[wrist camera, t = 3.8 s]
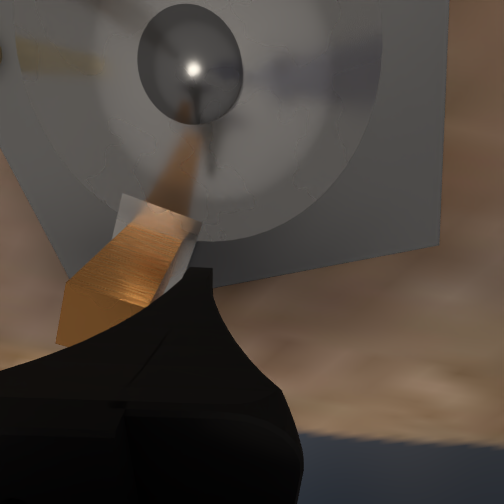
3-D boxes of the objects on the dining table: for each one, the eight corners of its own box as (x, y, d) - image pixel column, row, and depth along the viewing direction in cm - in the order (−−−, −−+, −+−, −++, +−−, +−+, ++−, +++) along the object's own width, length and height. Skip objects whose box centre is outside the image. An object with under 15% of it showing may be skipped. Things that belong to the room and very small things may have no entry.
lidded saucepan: (59, -260, 7) (-311, -978, 3) (440, -39, 9) (659, -210, 4) (15, 240, 13) (-132, 321, 8) (260, 320, 15) (265, 426, 10)
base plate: (436, -353, 8) (538, -607, 5) (424, 234, 14) (466, 264, 11) (-128, -158, 9) (-292, -274, 6) (98, 297, 16) (66, 337, 13)
